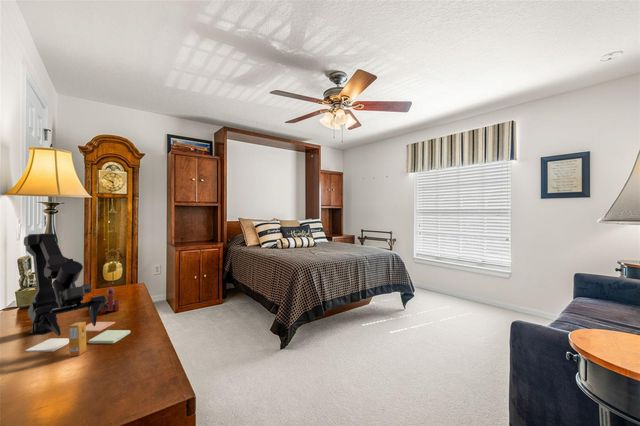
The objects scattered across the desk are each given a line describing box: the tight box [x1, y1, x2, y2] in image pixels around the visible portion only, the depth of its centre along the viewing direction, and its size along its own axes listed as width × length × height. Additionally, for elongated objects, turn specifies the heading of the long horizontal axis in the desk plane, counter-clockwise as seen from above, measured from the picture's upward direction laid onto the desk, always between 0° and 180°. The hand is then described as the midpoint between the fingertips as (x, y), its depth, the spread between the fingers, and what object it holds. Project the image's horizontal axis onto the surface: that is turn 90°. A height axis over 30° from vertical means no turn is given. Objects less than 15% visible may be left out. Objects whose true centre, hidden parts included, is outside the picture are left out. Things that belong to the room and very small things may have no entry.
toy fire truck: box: [100, 286, 120, 314], centre depth 135 cm, size 7×12×10 cm, turn 38°
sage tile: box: [87, 329, 131, 344], centre depth 105 cm, size 9×9×1 cm
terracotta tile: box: [86, 321, 116, 333], centre depth 115 cm, size 9×9×1 cm
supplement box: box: [68, 321, 87, 357], centre depth 93 cm, size 3×3×10 cm
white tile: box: [25, 337, 69, 353], centre depth 99 cm, size 9×9×1 cm
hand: (77, 330), depth 93 cm, fingers open, 9 cm apart
